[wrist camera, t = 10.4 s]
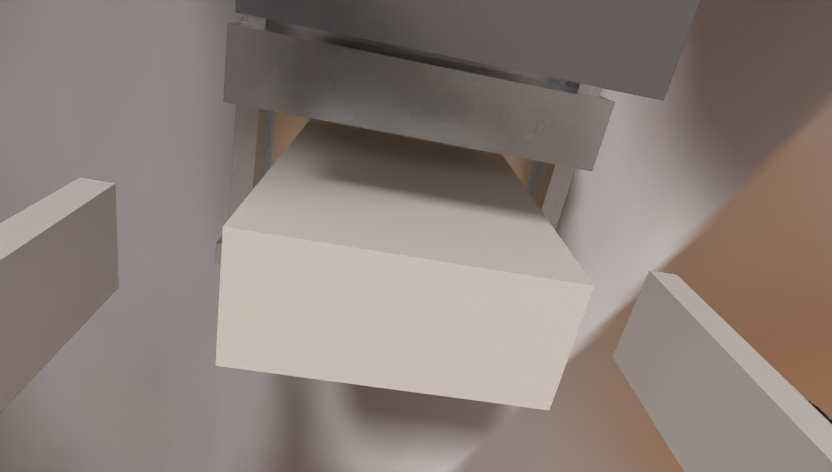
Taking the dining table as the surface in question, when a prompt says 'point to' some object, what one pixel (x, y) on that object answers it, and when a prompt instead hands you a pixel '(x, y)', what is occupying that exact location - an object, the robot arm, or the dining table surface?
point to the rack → (447, 77)
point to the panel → (398, 272)
